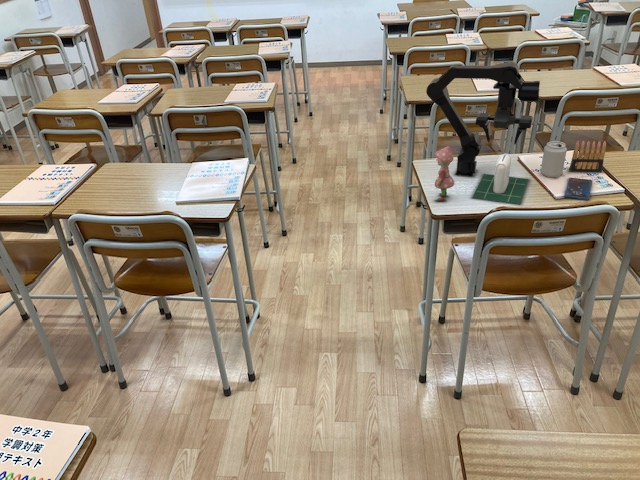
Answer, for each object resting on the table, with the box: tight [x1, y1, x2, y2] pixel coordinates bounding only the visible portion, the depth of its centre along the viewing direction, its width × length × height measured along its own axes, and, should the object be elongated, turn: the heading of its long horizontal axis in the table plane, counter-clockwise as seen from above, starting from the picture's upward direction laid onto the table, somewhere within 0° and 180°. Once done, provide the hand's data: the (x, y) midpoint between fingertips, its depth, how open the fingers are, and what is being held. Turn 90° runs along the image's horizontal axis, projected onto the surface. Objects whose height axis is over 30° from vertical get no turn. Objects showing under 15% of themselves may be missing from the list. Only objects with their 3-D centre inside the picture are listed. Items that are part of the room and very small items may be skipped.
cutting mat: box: [471, 173, 529, 205], centre depth 175 cm, size 16×20×1 cm
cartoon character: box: [434, 145, 455, 202], centre depth 168 cm, size 10×7×20 cm
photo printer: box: [493, 153, 512, 194], centre depth 172 cm, size 10×4×12 cm, turn 152°
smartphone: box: [564, 177, 593, 201], centre depth 169 cm, size 8×1×15 cm
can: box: [540, 140, 568, 178], centre depth 178 cm, size 8×8×12 cm
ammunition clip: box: [568, 140, 607, 173], centre depth 177 cm, size 11×2×12 cm, turn 75°
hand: (501, 142), depth 178 cm, fingers open, 9 cm apart
